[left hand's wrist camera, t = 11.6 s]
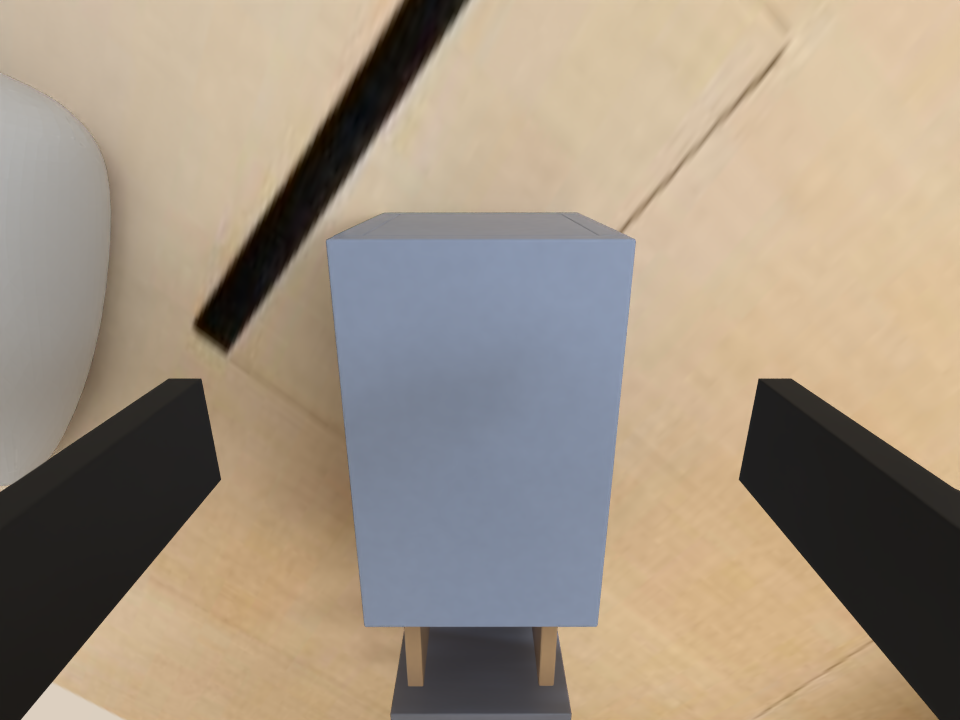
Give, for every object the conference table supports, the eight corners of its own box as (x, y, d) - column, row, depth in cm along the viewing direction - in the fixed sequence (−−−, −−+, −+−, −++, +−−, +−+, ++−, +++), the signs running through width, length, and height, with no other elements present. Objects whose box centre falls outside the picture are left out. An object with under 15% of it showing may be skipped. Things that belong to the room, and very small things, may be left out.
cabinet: (561, 485, 34) (597, 627, 24) (399, 485, 34) (363, 627, 24) (578, 212, 28) (636, 239, 18) (383, 212, 28) (324, 239, 18)
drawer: (545, 651, 38) (564, 794, 29) (415, 651, 38) (396, 794, 29) (560, 382, 31) (592, 466, 22) (400, 382, 31) (369, 466, 22)
